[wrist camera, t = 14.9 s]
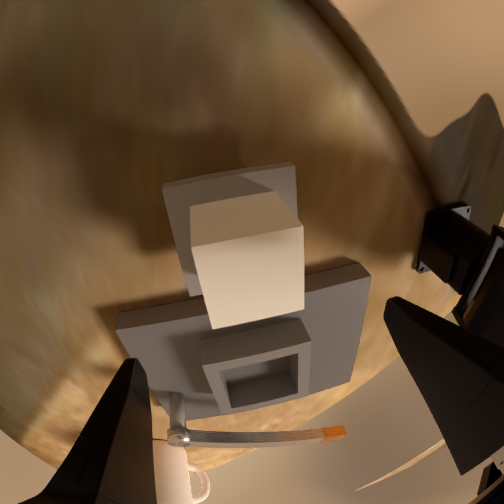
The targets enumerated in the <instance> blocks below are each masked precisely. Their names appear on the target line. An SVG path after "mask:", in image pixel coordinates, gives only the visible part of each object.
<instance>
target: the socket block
mask: <svg viewBox="0 0 504 504" xmlns="http://www.w3.org/2000/svg"><path fill="white" fill-rule="evenodd" d="M370 281H371V275H370V274H369V273H368V271H367V270H366V269H365V268H364V267H363V266H362V265H361V264H360V263H356V264H352V265H348V266H343V267H339V268H335V269H331V270H327V271H322V272H318V273H314V274H309V275H305V276H304V309H303V310H299V311H295V312H291V313H287V314H283V315H278V316H274V317H270V318H265V319H261V320H256V321H251V322H247V323H242V324H237V325H232V326H227V327H222V328H217V329H212V326H211V322H210V319H209V315H208V311H207V308H206V304H205V300H204V297H202V298H196V299H191V300H186V301H181V302H176V303H170V304H165V305H159V306H154V307H148V308H143V309H137V310H131V311H125V312H120V313H118V317H117V322H116V327H115V332H116V333H117V335H118V337H119V339H120V341H121V342H122V344H123V346H124V347H125V349H126V351H127V353H128V354H129V356H130V358H137V359H138V360H139V362H140V363H141V365H142V367H143V368H144V370H145V372H146V374H147V380H148V386H149V388H150V389H151V391H152V392H153V394H154V395H155V397H156V398H157V399H158V401H159V402H160V404H161V405H162V407H163V408H164V409H165V411H166V412H167V414H168V415H169V416H170V428H172V427H184V428H186V421H187V420H194V419H201V418H208V417H214V416H220V415H228V414H233V413H239V412H244V411H248V410H253V409H258V408H262V407H266V406H271V405H275V404H279V403H283V402H286V401H290V400H294V399H298V398H301V397H305V396H308V395H310V394H313V393H317V392H320V391H323V390H326V389H329V388H332V387H335V386H338V385H341V384H344V383H347V382H350V379H351V375H352V371H353V367H354V363H355V358H356V354H357V350H358V345H359V341H360V336H361V331H362V326H363V321H364V316H365V311H366V305H367V300H368V294H369V288H370Z"/></svg>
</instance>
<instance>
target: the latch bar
mask: <svg viewBox="0 0 504 504" xmlns="http://www.w3.org/2000/svg"><path fill="white" fill-rule="evenodd" d="M346 435H347V432H346V430H345V428H344V426H343V425H341V426H333V427H324V428H320V429H310V430H297V431H280V432H216V431H199V430H189V429H187V428H184V427H172V428H169V429H168V430H167V438H168V444H169V445H170V446H173V447H186V446H190V447H209V448H258V447H277V446H290V445H300V444H310V443H318V442H320V443H322V442H329V441H335V440H341V439H342V438H343V437H345V436H346Z"/></svg>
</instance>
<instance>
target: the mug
mask: <svg viewBox="0 0 504 504" xmlns="http://www.w3.org/2000/svg"><path fill="white" fill-rule="evenodd" d="M153 459H154V474H155V487H156V497H157V504H197V503H200V502H202V501H203V500H205V499H206V498H207V496H208V495H209V492H210V482H209V478H208V476H207V474H206V473H205V472H204V470H203V469H202V468H200V467H199V466H198V465H196V464H193V463H190V462H187V455H186V451H185V449H184V448H183V447H173V446H170V445H169V444H168V441H165V440H153ZM189 470H190V471H193V472H195V473H196V474H197V475H198V476H199V478H200V480H201V491H200V492H199V493H198V494H196V495H192V493H191V486H190V479H189Z"/></svg>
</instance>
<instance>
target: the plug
mask: <svg viewBox="0 0 504 504" xmlns="http://www.w3.org/2000/svg"><path fill="white" fill-rule="evenodd" d="M162 193H163V197H164V201H165V205H166V210H167V214H168V218H169V222H170V226H171V230H172V234H173V237H174V241H175V245H176V249H177V252H178V256H179V260H180V263H181V267H182V271H183V274H184V278H185V281H186V285H187V288H188V291H189V295H190V297H191V296H196V295H202V294H203V297H204V300H205V304H206V308H207V311H208V315H209V319H210V322H211V326H212V329H217V328H222V327H227V326H232V325H237V324H242V323H247V322H251V321H256V320H261V319H265V318H270V317H274V316H278V315H283V314H287V313H291V312H295V311H299V310H303V309H304V228H303V225H302V224H301V222H300V221H299V220H298V210H297V189H296V171H295V165H293V164H292V163H290V162H282V163H274V164H267V165H260V166H254V167H247V168H241V169H235V170H229V171H223V172H217V173H212V174H206V175H201V176H196V177H191V178H186V179H181V180H176V181H171V182H167V183H163V186H162Z"/></svg>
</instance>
